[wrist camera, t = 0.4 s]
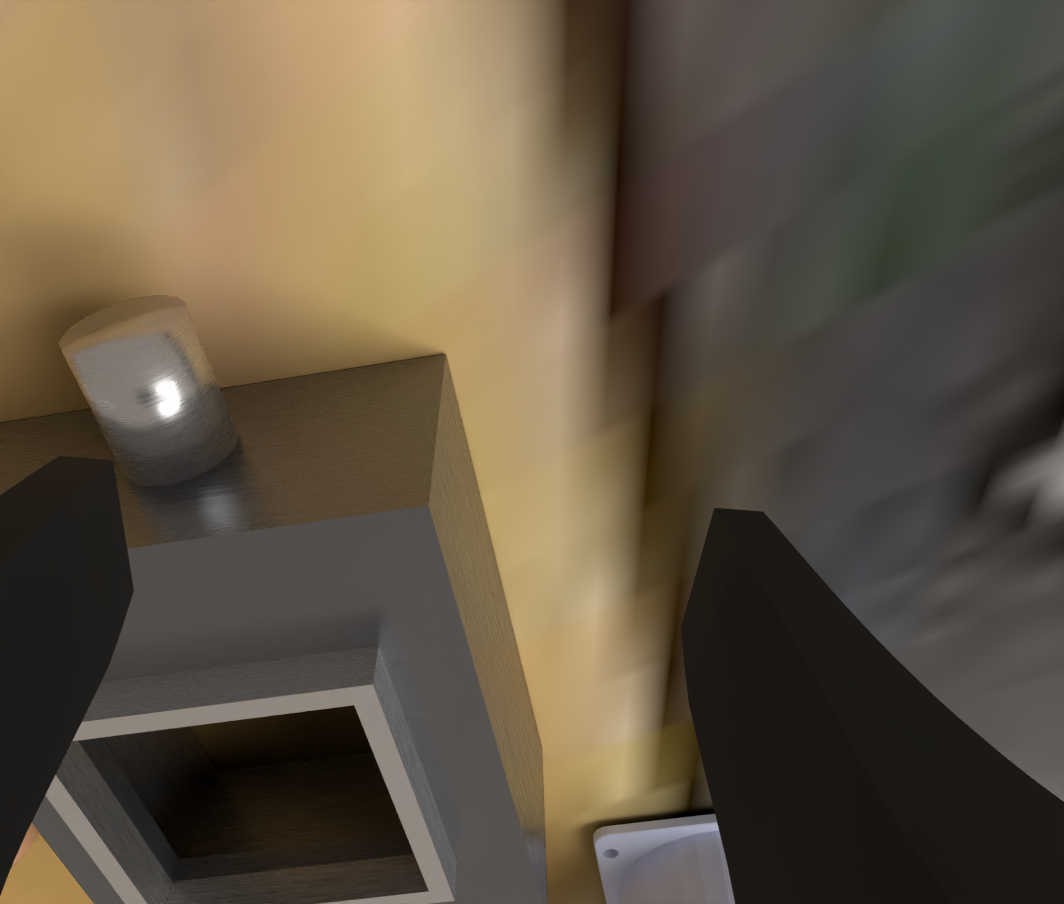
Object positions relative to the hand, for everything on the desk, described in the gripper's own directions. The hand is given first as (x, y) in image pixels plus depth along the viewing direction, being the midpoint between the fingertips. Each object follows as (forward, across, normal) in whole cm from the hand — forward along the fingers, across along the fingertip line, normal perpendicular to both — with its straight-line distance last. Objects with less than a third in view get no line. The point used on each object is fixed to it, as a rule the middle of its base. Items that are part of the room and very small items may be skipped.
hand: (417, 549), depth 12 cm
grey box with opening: (+10, +4, +10) cm, 14 cm away
